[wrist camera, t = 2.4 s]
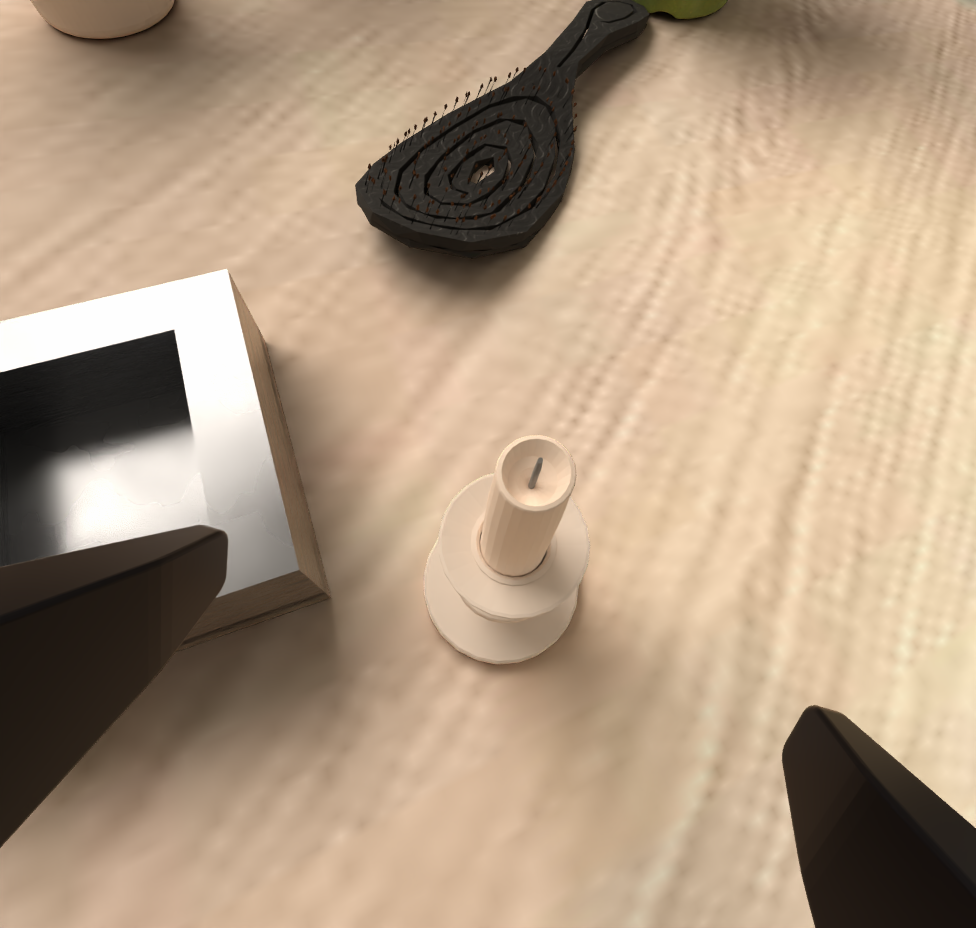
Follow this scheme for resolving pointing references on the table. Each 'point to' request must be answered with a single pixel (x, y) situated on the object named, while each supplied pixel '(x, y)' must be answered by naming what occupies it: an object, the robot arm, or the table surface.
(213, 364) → the socket block
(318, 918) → the table surface
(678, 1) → the plant pot
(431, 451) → the table surface
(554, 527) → the candle
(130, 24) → the coffee cup
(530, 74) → the hairbrush
